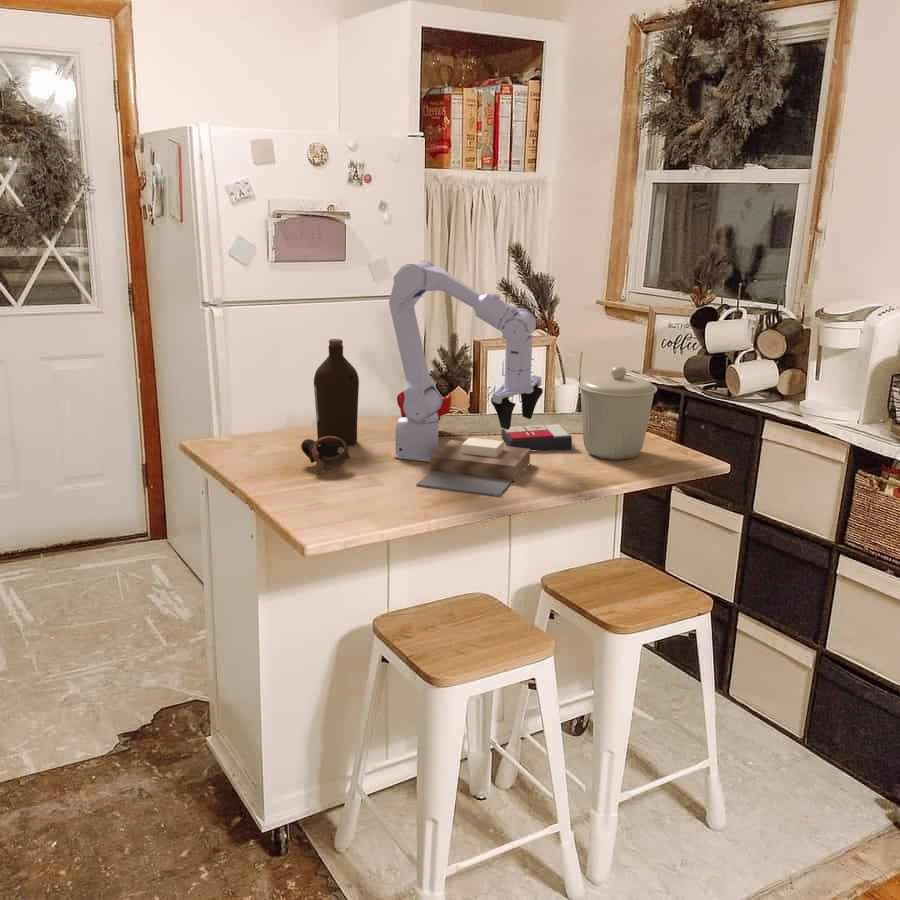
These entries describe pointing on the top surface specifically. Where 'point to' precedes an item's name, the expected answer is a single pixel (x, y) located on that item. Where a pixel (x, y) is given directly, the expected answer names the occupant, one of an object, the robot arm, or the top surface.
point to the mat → (464, 483)
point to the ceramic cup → (443, 410)
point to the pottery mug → (326, 452)
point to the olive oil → (336, 396)
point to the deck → (480, 462)
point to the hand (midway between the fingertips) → (516, 422)
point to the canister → (615, 413)
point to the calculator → (538, 437)
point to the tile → (482, 447)
